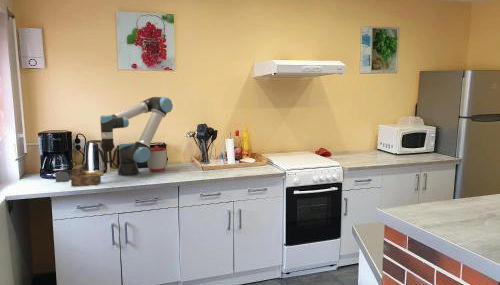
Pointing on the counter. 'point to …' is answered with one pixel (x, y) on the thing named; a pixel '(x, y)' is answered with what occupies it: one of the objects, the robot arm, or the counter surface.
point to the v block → (63, 176)
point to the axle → (92, 172)
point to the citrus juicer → (157, 159)
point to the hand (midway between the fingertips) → (109, 172)
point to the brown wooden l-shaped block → (83, 177)
